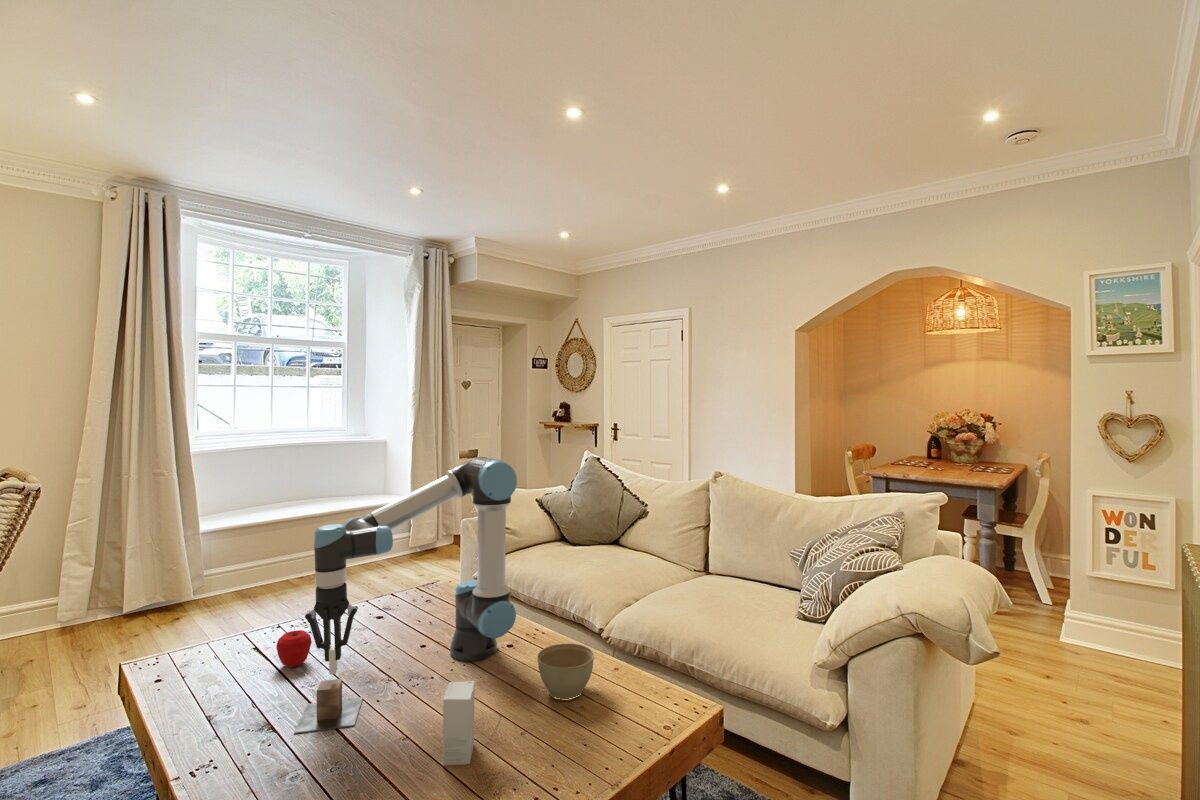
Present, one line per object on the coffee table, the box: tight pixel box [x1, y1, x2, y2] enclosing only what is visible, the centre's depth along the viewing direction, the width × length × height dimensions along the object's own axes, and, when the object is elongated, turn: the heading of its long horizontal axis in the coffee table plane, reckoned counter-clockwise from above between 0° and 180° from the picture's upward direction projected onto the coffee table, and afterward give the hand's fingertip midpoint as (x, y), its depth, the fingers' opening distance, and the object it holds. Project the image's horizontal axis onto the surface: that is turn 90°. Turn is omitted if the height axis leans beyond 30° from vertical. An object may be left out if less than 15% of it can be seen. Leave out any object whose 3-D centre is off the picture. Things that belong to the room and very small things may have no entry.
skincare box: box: [442, 680, 476, 767], centre depth 135 cm, size 8×7×16 cm
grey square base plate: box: [293, 696, 363, 735], centre depth 152 cm, size 14×14×6 cm
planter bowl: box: [537, 642, 595, 699], centre depth 164 cm, size 16×16×11 cm
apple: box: [275, 629, 312, 668], centre depth 181 cm, size 10×10×11 cm
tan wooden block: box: [316, 678, 343, 721], centre depth 152 cm, size 5×5×8 cm
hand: (333, 672), depth 154 cm, fingers closed
